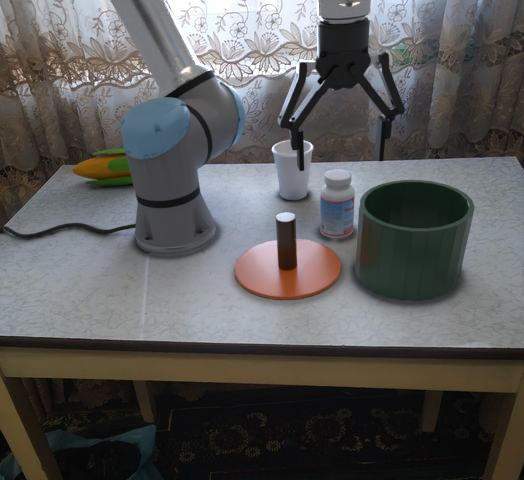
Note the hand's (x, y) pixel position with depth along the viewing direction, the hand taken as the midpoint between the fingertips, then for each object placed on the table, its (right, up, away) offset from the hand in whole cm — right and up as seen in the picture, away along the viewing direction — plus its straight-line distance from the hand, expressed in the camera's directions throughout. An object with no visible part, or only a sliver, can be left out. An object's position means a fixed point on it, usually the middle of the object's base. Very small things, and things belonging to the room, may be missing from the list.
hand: (339, 163), depth 89 cm
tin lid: (-9, -18, 0) cm, 20 cm away
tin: (+11, -19, -3) cm, 22 cm away
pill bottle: (+1, -10, +9) cm, 13 cm away
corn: (-47, +7, +33) cm, 57 cm away
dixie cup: (-7, +1, +22) cm, 23 cm away
